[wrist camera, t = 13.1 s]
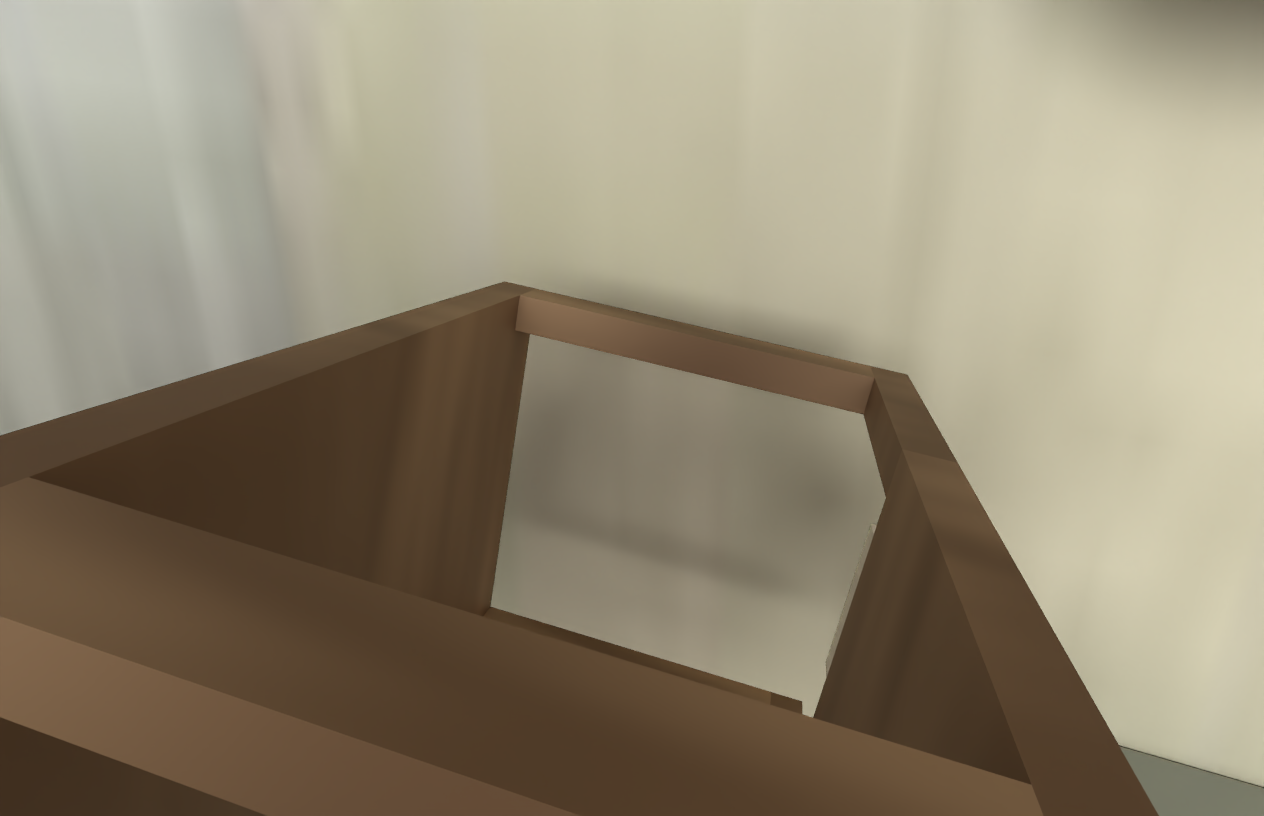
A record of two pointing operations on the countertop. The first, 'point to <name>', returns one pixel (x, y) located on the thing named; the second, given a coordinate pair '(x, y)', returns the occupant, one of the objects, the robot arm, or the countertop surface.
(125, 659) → the open box frame
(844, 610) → the robot arm
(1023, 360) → the countertop surface
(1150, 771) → the u-shaped frame
